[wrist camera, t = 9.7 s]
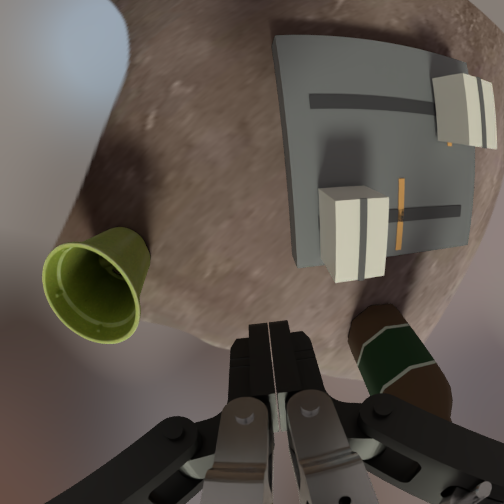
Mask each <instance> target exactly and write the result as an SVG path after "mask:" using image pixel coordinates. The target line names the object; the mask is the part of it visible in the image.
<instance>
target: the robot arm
mask: <svg viewBox="0 0 504 504" xmlns="http://www.w3.org/2000/svg"><path fill="white" fill-rule="evenodd" d="M269 329H270V338H271V347H272V357H273V364H274V373H275V382H276V390H277V399H278V408H279V417H280V426H281V431H287V435H288V443H289V452H290V457H291V461H292V465H293V470H294V474H295V479H296V483H297V488H298V493H299V500H300V504H379V502H378V499H377V497H376V494H375V491H374V489H373V486H372V483H371V481H370V478H369V476H368V473H367V471H368V472H370V473H372V474H374V475H375V476H377V477H379V478H381V479H382V480H384V481H386V482H388V483H390V484H392V485H394V486H396V487H397V488H399V489H401V490H403V491H405V492H407V493H409V494H411V495H413V496H416V497H418V498H420V499H422V500H424V501H426V502H429V503H431V504H504V443H501V442H499V441H496V440H494V439H491V438H488V437H486V436H483V435H481V434H478V433H476V432H473V431H471V430H468V429H466V428H464V427H461V426H459V425H456V424H454V423H452V422H450V421H447V420H445V419H443V418H440V417H438V416H436V415H434V414H432V413H429V412H427V411H425V410H423V409H421V408H419V407H416V406H414V405H412V404H410V403H408V402H406V401H404V400H402V399H400V398H398V397H396V396H393V395H391V394H386V393H379V394H374V395H372V396H370V397H368V398H367V399H366V400H365V401H364V402H363V403H346V402H341V401H338V400H335V399H334V398H332V397H331V396H329V395H328V393H327V392H326V390H325V388H324V385H323V381H322V378H321V374H320V371H319V367H318V364H317V360H316V357H315V353H314V351H313V346H312V343H311V340H310V338H309V337H308V336H307V335H306V334H305V333H304V332H303V331H300V332H292V333H290V330H289V325H288V321H287V320H285V321H277V322H269ZM273 432H279V425H278V415H277V406H276V397H275V388H274V378H273V369H272V360H271V351H270V343H269V334H268V325H267V323H260V324H251V325H249V338H241V339H236V340H235V342H234V344H233V345H232V347H231V350H230V369H229V391H228V402H227V405H226V406H225V407H224V408H223V410H222V412H221V413H219V414H218V415H217V416H215V417H213V418H210V419H207V420H203V421H200V422H196V423H193V422H192V421H191V420H190V419H188V418H185V417H180V416H174V417H169V418H166V419H164V420H163V421H161V422H160V423H159V424H157V425H156V426H155V427H154V428H152V429H151V430H150V431H149V432H147V433H146V434H145V435H144V436H142V437H141V438H140V439H138V440H137V441H136V442H134V443H133V444H132V445H130V446H129V447H128V448H126V449H125V450H124V451H122V452H121V453H120V454H118V455H117V456H116V457H114V458H113V459H111V460H110V461H109V462H107V463H106V464H105V465H103V466H102V467H100V468H99V469H97V470H96V471H94V472H93V473H92V474H90V475H89V476H87V477H86V478H84V479H83V480H82V481H80V482H78V483H77V484H75V485H74V486H72V487H71V488H69V489H67V490H66V491H64V492H63V493H61V494H60V495H58V496H56V497H55V498H53V499H51V500H50V501H48V502H46V503H45V504H186V503H187V502H188V501H189V500H190V499H191V498H193V497H194V496H195V495H196V494H197V493H198V492H199V491H200V490H201V489H203V490H202V496H201V502H200V504H273V460H274V456H273V455H274V451H273V450H274V445H275V444H274V433H273ZM366 470H367V471H366Z"/></svg>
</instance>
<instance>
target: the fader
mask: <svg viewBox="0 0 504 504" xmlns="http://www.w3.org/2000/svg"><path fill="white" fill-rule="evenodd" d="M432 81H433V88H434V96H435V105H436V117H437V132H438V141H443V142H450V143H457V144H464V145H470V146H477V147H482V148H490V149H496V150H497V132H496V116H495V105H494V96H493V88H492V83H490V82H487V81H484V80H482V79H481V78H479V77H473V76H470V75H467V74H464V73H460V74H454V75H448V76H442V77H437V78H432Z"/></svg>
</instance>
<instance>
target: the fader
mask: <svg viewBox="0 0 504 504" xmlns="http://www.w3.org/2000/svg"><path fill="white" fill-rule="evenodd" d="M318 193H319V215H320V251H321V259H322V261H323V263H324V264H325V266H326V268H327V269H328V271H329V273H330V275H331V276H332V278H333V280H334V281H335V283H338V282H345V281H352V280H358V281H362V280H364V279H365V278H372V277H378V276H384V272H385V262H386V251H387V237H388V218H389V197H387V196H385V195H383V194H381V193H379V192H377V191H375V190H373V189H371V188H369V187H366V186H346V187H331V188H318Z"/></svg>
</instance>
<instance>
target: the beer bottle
mask: <svg viewBox="0 0 504 504" xmlns="http://www.w3.org/2000/svg"><path fill="white" fill-rule="evenodd" d="M348 343H349V346H350V349H351V352H352V354H353V356H354V359H355V361H356V363H357V365H358V368H359V370H360V372H361V375H362V377H363V380H364V382H365V384H366V387H367V389H368V392H369V394H370V396H372V395H374V394H379V393H386V394H391V395H393V396H396V397H398V398H400V399H402V400H404V401H406V402H408V403H410V404H412V405H414V406H416V407H419V408H421V409H423V410H425V411H427V412H429V413H432V414H434V415H436V416H438V417H440V418H443V419H445V420H447V421H450V422H452V421H451V418H450V416H451V409H452V401H453V400H452V393H451V387H450V385H449V383H448V381H447V379H446V377H445V375H444V374H443V372H442V371H441V369H440V368H439V366H438V365H437V363H436V362H435V360H434V359H433V357H432V356H431V354H430V353H429V352H428V350H427V349H426V347H425V346H424V344H423V343H422V342H421V340H420V339H419V337H418V336H417V335H416V333H415V332H414V331H413V329H412V328H411V326H410V325H409V324H408V322H407V321H406V320H405V319H404V317H403V316H402V315H401V313H400V312H399V311H398V310H397V309H396V308H395V306H394V305H393V304H382V305H371V306H369V307H368V308H367V309H366V310H365V311H363V312H362V313H361V314H360V315H359V316H357V317H356V318H355V319H354V320H352V325H351V329H350V333H349V337H348Z"/></svg>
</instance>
